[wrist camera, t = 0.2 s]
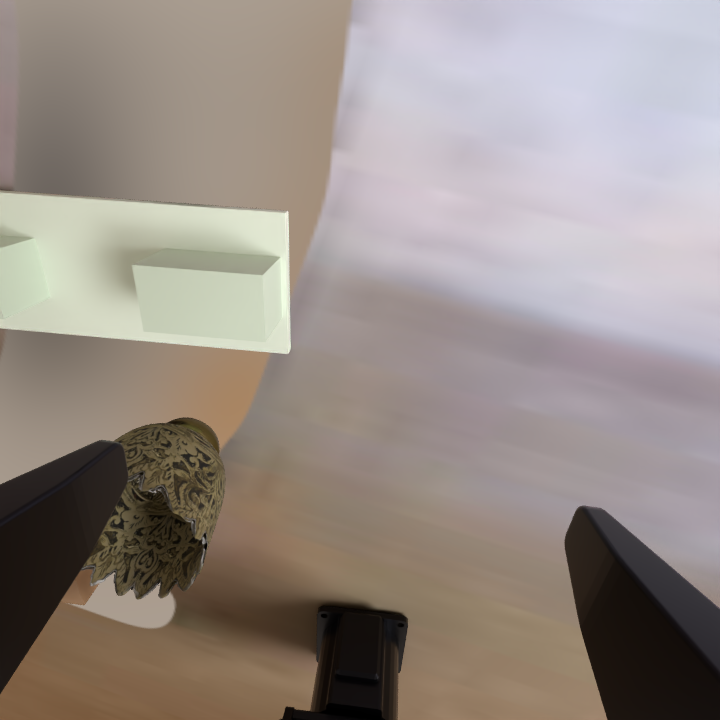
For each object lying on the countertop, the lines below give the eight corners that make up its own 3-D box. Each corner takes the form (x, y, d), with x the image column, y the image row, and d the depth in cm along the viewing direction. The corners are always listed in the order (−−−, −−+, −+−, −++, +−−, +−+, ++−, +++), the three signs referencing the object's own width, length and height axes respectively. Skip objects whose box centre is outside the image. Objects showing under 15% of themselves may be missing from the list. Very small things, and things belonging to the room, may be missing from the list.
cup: (124, 375, 26) (17, 469, 19) (253, 392, 25) (193, 494, 18) (141, 477, 29) (55, 589, 22) (254, 493, 29) (205, 611, 22)
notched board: (290, 348, 24) (272, 382, 21) (-33, 320, 25) (-98, 348, 22) (288, 210, 21) (266, 225, 18) (-82, 184, 22) (-166, 193, 19)
